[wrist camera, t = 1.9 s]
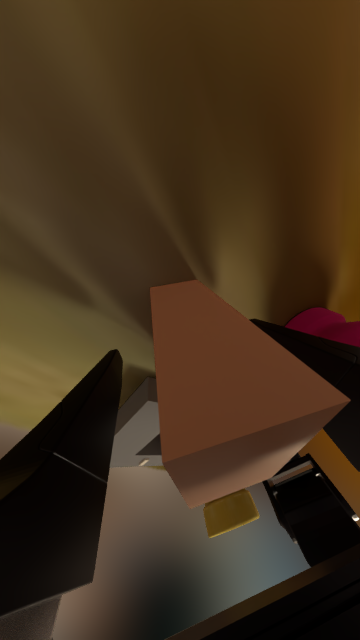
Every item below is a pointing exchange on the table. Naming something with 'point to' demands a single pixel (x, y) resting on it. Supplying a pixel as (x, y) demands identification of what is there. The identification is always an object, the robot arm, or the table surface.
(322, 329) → the pink bowling pin
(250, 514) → the plant pot
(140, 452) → the socket block
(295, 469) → the robot arm
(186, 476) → the keyed peg
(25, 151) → the table surface
